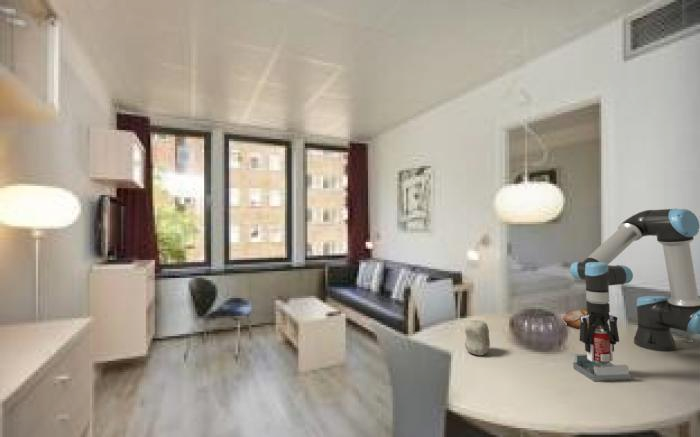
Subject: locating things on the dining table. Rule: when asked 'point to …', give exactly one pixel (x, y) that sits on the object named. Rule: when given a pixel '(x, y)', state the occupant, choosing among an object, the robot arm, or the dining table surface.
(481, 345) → the stone
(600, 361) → the soda can
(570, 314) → the bread
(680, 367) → the dining table surface
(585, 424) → the dining table surface
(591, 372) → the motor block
